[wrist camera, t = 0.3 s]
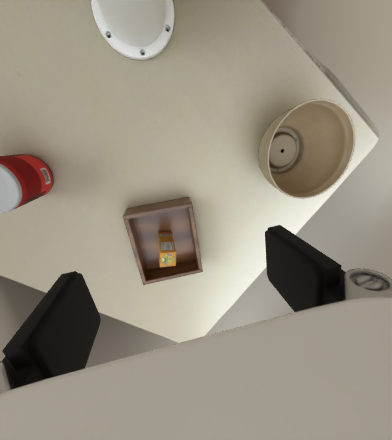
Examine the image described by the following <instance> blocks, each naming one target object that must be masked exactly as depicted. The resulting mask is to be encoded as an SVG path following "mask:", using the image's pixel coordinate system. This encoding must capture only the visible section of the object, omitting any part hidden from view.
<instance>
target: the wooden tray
mask: <svg viewBox="0 0 392 440" xmlns="http://www.w3.org/2000/svg"><path fill="white" fill-rule="evenodd" d="M123 218H124V222H125V225H126V228H127V232H128V235H129V239H130V242H131V245H132V249H133V252H134V255H135V259H136V262H137V265H138V269H139V272H140V275H141V279H142V282H143V285H145V284H150V283H154V282H159V281H163V280H168V279H172V278H177V277H181V276H186V275H190V274H195V273H199V272H203V270H202V264H201V258H200V251H199V245H198V239H197V233H196V226H195V220H194V214H193V208H192V203H191V201H190V199H189V197H187V198H181V199H176V200H171V201H165V202H160V203H154V204H149V205H144V206H138V207H133V208H127V209H126V211H125V213H124V215H123ZM169 231H171V232H172V235H173V240H174V244H175V248H176V266H167V267H160V264H159V251H158V232H169Z"/></svg>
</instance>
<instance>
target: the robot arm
mask: <svg viewBox="0 0 392 440" xmlns="http://www.w3.org/2000/svg"><path fill="white" fill-rule="evenodd" d="M91 4H92V10H93V15H94V18H95V21H96V24H97V26H98V28H99V30H100V32H101V33H102V35H103V37H104V38H105V40H106V41H107V42H108V43H109V45H110V46H111V47H112V48H113V49H115V50H116V51H117V52H118V53H120V54H122V55H123V56H125V57H128V58H130V59H135V60H147V59H150V58H153V57H155V56H156V55H158V54H159V53H160V52H161V51H163V50H164V48H165V47H166V45H167V44H168V42H169V40H170V38H171V35H172V31H173V27H174V5H173V0H91ZM167 29H168V30H169V32H167V31H166V30H167ZM109 35H110V36H111V38H108V36H109ZM142 53H144V55H142ZM265 243H266V262H267V275H268V279H269V281H270V282H271V283H272V284H273V286H274V287H275V288H276V289H277V291H278V292H279V293H280V294H281V296H282V297H283V298H284V299H285V301H286V302H287V303H288V304H289V306H290V307H291V308H292V309H293V310H294V313H290V314H287V315H283V316H279V317H275V318H271V319H268V320H264V321H260V322H256V323H252V324H249V325H245V326H242V327H237V328H234V329H230V330H226V331H222V332H219V333H215V334H211V335H207V336H204V337H200V338H196V339H192V340H189V341H185V342H181V343H177V344H174V345H170V346H167V347H163V348H159V349H155V350H152V351H148V352H144V353H141V354H137V355H133V356H129V357H125V358H122V359H118V360H114V361H111V362H107V363H104V364H100V365H97V366H92V367H89V368H85V366H86V363H87V360H88V357H89V354H90V351H91V348H92V346H93V342H94V340H95V337H96V334H97V331H98V328H99V325H100V315H99V313H98V310H97V308H96V306H95V303H94V301H93V299H92V296H91V294H90V292H89V289H88V287H87V285H86V283H85V280H84V278H83V276H82V274H80V273H79V274H78V273H77V272H76V271H74V272H70V273H65V274H62V275H61V276H60V277H59V278H58V280H57V281H56V282H55V283H54V285H53V286H52V287H51V289H50V290H49V291H48V292H47V294H46V295H45V296H44V298H43V299H42V300H41V302H40V303H39V304H38V305H37V307H36V308H35V309H34V311H33V312H32V313H31V314H30V316H29V317H28V318H27V320H26V321H25V322H24V323H23V325H22V326H21V327H20V329H19V330H18V331H17V332H16V334H15V335H14V336H13V338H12V339H11V340H10V342H9V343H8V344H7V345H6V347H5V348H4V349H3V353H4V354H5V358H4V359H3V360H2V361H0V440H392V279H391V278H390V277H388V276H386V275H384V274H383V273H380V272H377V271H374V270H369V269H361V268H358V269H351V270H348V271H347V272H345V271H343V270H342V269H341V265H340V264H338V263H337V262H335V261H334V260H332V259H331V258H329V257H327V256H326V255H325V254H323V253H322V252H320V251H318V250H317V249H315V248H314V247H312V246H311V245H309V244H308V243H306V242H305V241H303V240H302V239H300V238H299V237H297V236H296V235H294V234H293V233H291V232H290V231H288V230H287V229H285V228H284V227H282V226H280V225H278V226H274V227H269V228H268V231H266V232H265Z"/></svg>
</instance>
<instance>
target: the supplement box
mask: <svg viewBox="0 0 392 440" xmlns="http://www.w3.org/2000/svg"><path fill="white" fill-rule="evenodd" d="M158 251H159V264H160V267H167V266H176V248H175V244H174V240H173V235H172V232H171V231H169V232H158Z"/></svg>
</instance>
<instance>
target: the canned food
mask: <svg viewBox="0 0 392 440" xmlns="http://www.w3.org/2000/svg"><path fill="white" fill-rule="evenodd" d="M52 185H53V176H52V173H51V171H50V169H49V168H48V166H47V165H46V164H45V163H44V162H42V161H41V160H39V159H37V158H35V157H33V156H30V155H25V154H20V155H8V156H0V213H5V212H8V211H11V210H13V209H16V208H18V207H20V206H22V205H24V204H26V203H28V202H31V201H33V200H35V199H37V198H39V197H41V196H43V195H45V194H47V193H48V192H49V191H50V189H51V187H52Z"/></svg>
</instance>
